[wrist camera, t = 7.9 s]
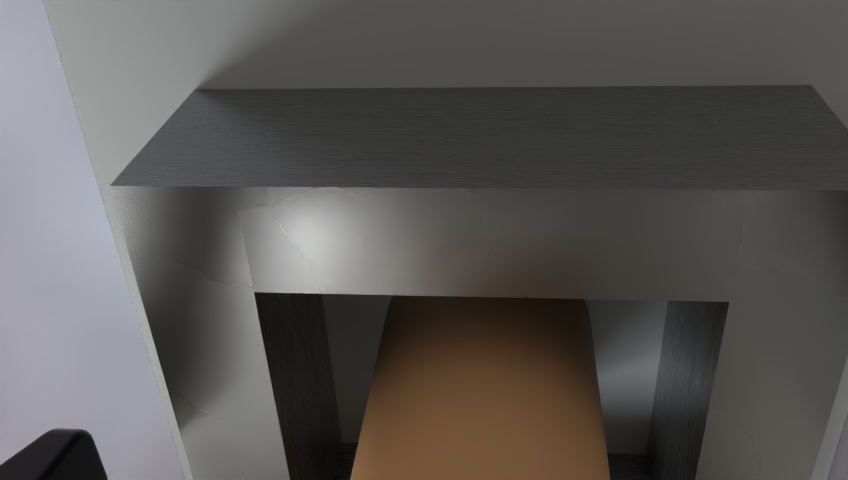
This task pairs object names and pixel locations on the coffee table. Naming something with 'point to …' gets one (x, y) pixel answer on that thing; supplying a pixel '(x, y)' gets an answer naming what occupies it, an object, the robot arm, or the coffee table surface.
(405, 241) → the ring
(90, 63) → the piston base
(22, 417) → the coffee table surface
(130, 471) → the coffee table surface
